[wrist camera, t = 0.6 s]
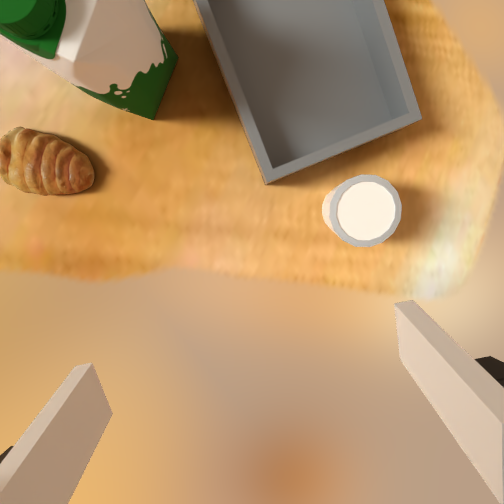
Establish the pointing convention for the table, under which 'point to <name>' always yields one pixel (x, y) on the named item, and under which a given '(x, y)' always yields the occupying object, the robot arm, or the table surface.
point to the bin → (309, 76)
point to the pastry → (43, 163)
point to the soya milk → (96, 47)
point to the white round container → (363, 210)
